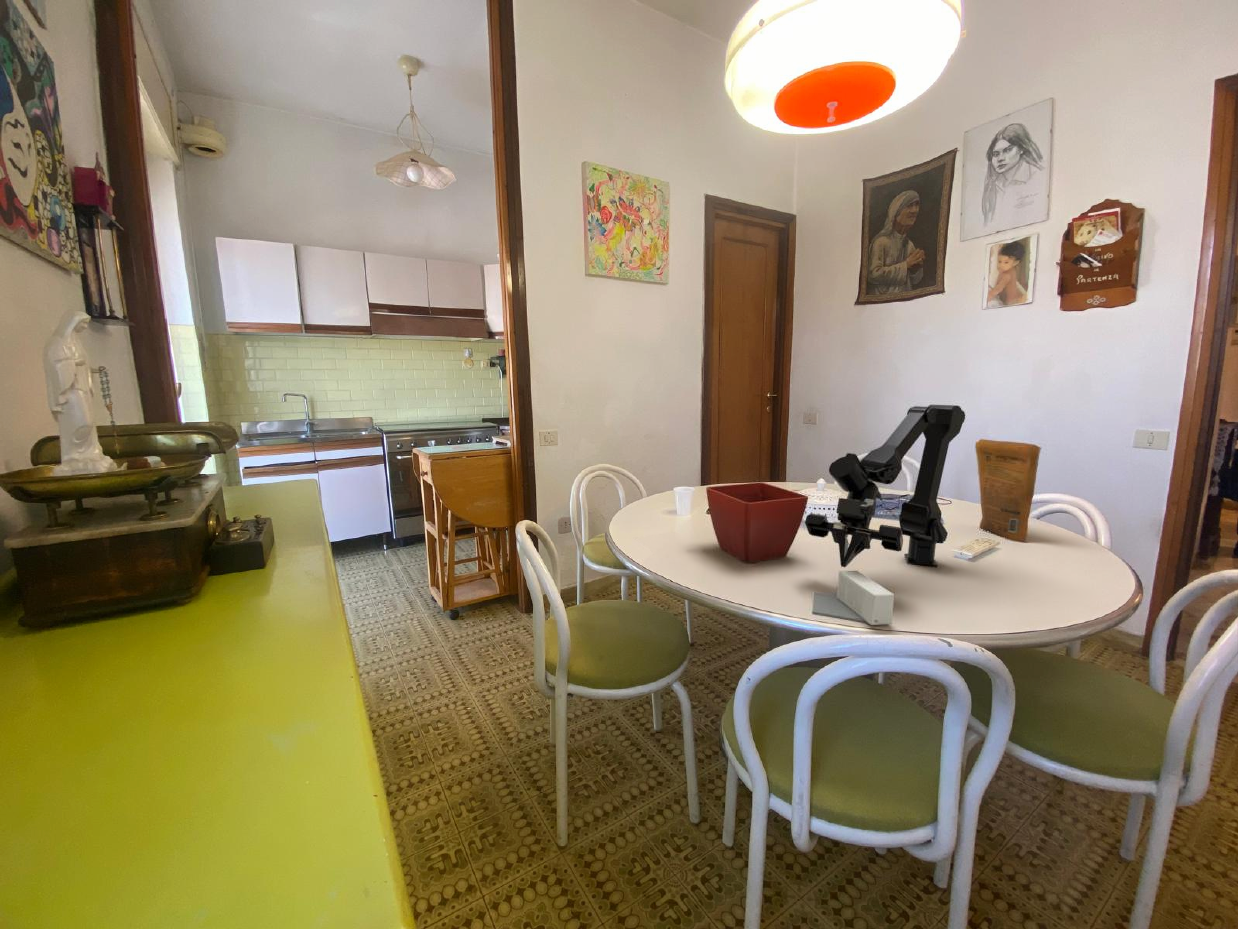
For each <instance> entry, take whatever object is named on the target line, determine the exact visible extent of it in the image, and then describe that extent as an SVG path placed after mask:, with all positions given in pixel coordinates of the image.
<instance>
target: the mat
mask: <svg viewBox="0 0 1238 929" xmlns="http://www.w3.org/2000/svg"><path fill="white" fill-rule="evenodd" d="M812 601H813V602H812V613H814V615H820V616H825V617H830V616H831V617H830V618H836V619H842V620H848V621H853V622H854V621H855V622H859V623H865V624H869V623H868V622H867V621H866V620H864V619H863V618H862V617H860V616H859V615H858V614H857V613H855V612H854V611H853V610H852V609H850V608H849V607H848V606H847V605H845V604H844V603H843V602H842V601H840V600H839V599H838V598H837V594H831V593H824V592H819V591H814V592H813V600H812Z"/></svg>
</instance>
